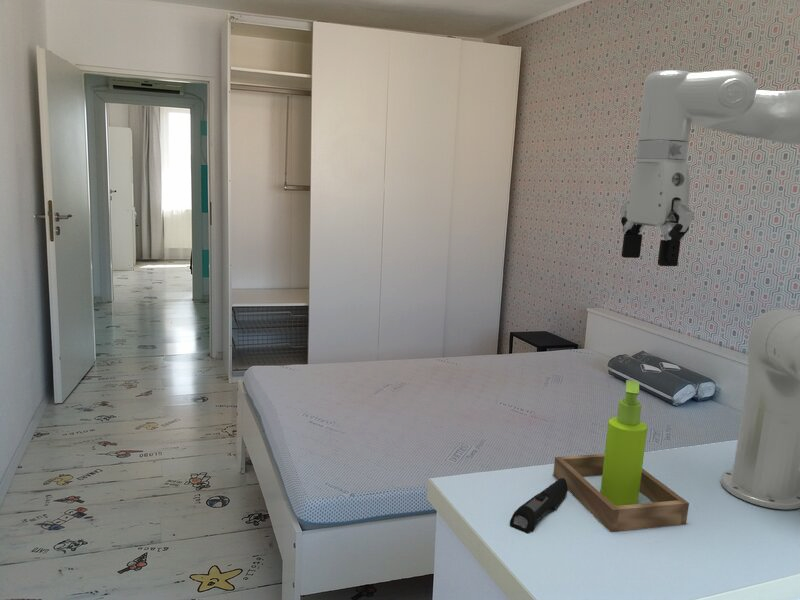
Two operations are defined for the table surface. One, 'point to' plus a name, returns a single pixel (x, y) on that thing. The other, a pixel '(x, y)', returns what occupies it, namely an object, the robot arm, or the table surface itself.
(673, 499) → the frame
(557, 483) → the electric trimmer
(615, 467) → the soap dispenser
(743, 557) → the table surface
